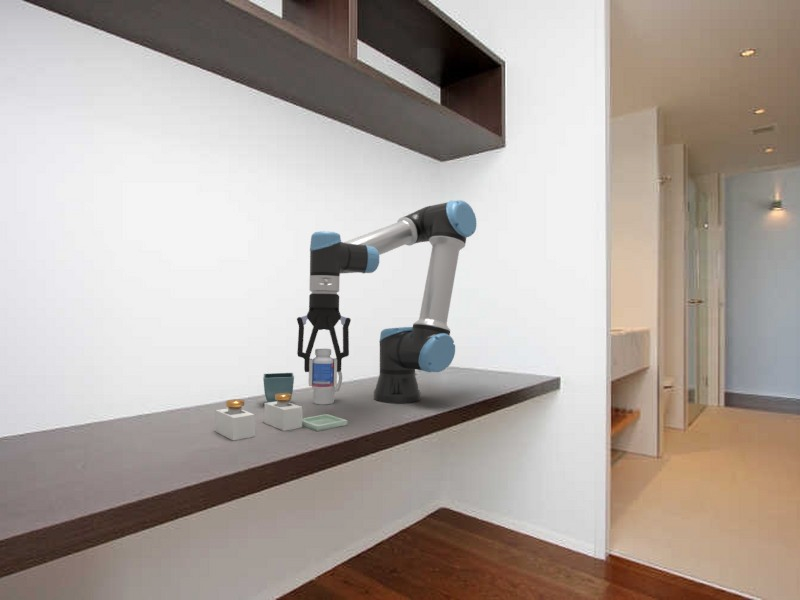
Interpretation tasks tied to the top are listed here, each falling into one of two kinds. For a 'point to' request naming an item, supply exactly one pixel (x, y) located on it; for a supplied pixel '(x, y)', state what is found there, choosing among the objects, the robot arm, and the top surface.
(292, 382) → the flower pot
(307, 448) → the top surface
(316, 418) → the tray
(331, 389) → the mug
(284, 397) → the plunger
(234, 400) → the plunger
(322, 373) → the pill bottle
